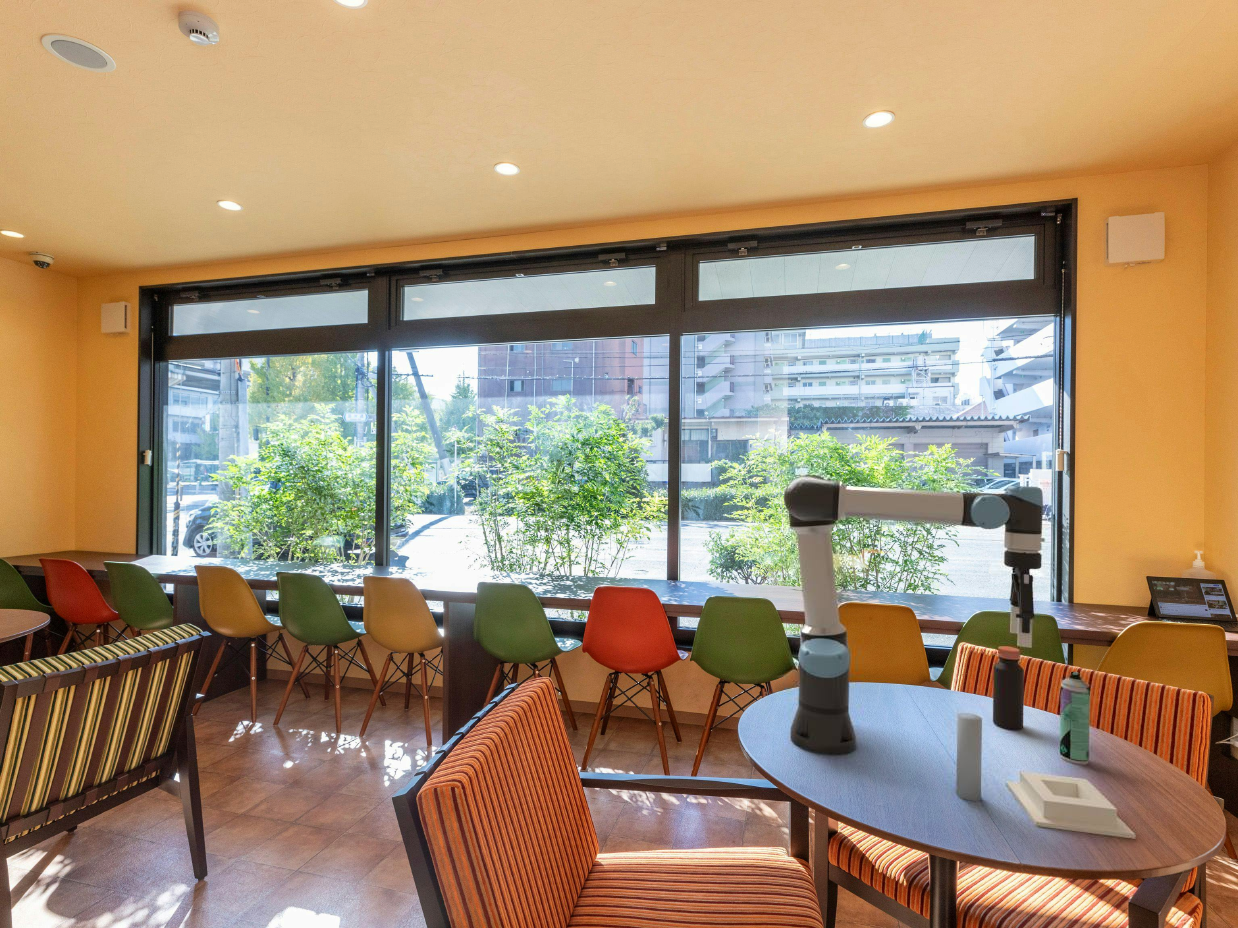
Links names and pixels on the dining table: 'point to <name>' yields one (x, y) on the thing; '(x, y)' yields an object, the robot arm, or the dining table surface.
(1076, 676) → the spray can
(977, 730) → the peg
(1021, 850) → the dining table surface
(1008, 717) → the bottle
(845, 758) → the dining table surface
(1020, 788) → the socket
